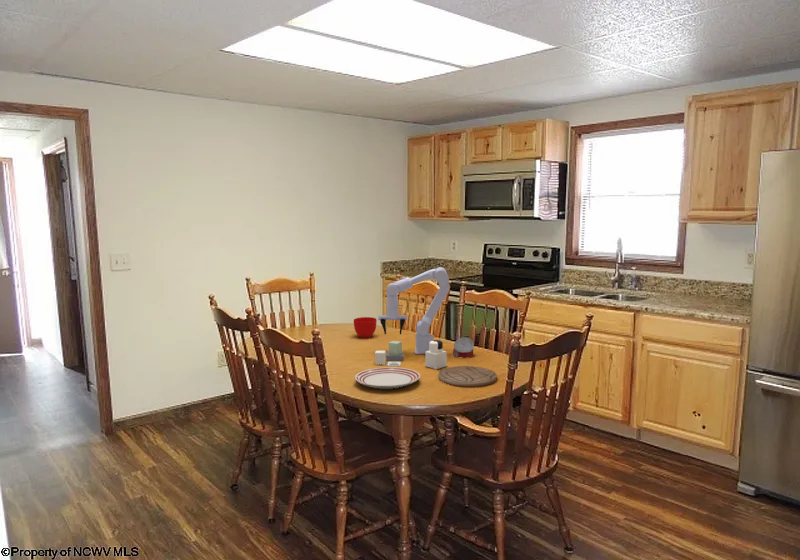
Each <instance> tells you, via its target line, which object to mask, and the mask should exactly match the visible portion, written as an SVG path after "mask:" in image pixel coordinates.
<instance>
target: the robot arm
mask: <svg viewBox="0 0 800 560" xmlns="http://www.w3.org/2000/svg"><path fill="white" fill-rule="evenodd" d="M427 280H432V281H434V280H436V282H437V283H438V287H439V289H438V290H437V292H436V294H435V296H434V298H433V299H432V300H431V303H430V304H429V307H428V308H427V310H426V312H425V314H424V315H423V316H422V318H421V319H420V320H419V321H417V323H416V324H415V326H416V329H415V330H416V332H415V349H414V354H417V355H425V352H426V351H429V342H430V341H432V340H435V339H434V334H430V326H431V325H432V322H433V320H434V318H435V317H436V314H437V312H438V311H439V309H440V308H441V306H442V305H443V302H444V300H445V298H446V297H447V295H448V294H449V292H450V277H449V274H448V272H447V270H446V269H445V268H444V267H443V266H442V267H441V266H438V267H436V268H433V269H429V270H426V271H425V272H422V273H420V274H418V275H415V276H413V277H405V276H403V277H402V278H401V279H400V280H397V281H396V280H395V281H393V282H392V283H388V285H387V287H386V315H384V314H383V315H378V317H377V320H378V321H380V324H381V326H382V329H383V333H384V335H387V324H386V323H387V321H391V320H392V321H399V335H402V331H403V328H404V325H405V322H406V321H408V315H402V314H399V298H398V297H399V296H398V293H402V292H405V291H407V290H410V289H412V288H413V285H415V284H418V283H421V282H423V281H427Z"/></svg>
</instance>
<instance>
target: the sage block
mask: <svg viewBox="0 0 800 560" xmlns="http://www.w3.org/2000/svg"><path fill="white" fill-rule="evenodd" d="M388 351H389V354H392V355H399V354H401V353H402V351H403V342H402V341H398V340H392V341H389V342H388Z"/></svg>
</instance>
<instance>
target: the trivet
mask: <svg viewBox="0 0 800 560" xmlns="http://www.w3.org/2000/svg"><path fill="white" fill-rule="evenodd" d="M437 375H438V376H437V378H438V381H440V382H441V381H442V382H441V383H443V382H444V383H443V384H445V383H446V385H448V384H449V385H448V386H452V385H453V386H452V387H458V386H459V387H460V388H481V386H482V387H487V386H490V384H491V385H493V384H495V383H496V382H497V381H496V380H497V379H498V378H497V375H498V374H497V373H496V372H495V371H493V370H492V369H488V368H485V367H481V366H480V367H479V366H473V365H457V366H451V367H446V368H443V369H440V370H439V372H438V374H437ZM495 381H496V382H495ZM494 382H495V383H494ZM492 383H493V384H492ZM459 387H458V388H459Z"/></svg>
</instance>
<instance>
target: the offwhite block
mask: <svg viewBox="0 0 800 560" xmlns="http://www.w3.org/2000/svg"><path fill="white" fill-rule="evenodd" d="M386 355H387V351H386V350H375V352H374V358H375V359H374V360H375V361H374V363H375V364H374V365H377V366H378V365H379V364H380V366H381V364H382V365H383V366H385V365H386Z"/></svg>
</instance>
